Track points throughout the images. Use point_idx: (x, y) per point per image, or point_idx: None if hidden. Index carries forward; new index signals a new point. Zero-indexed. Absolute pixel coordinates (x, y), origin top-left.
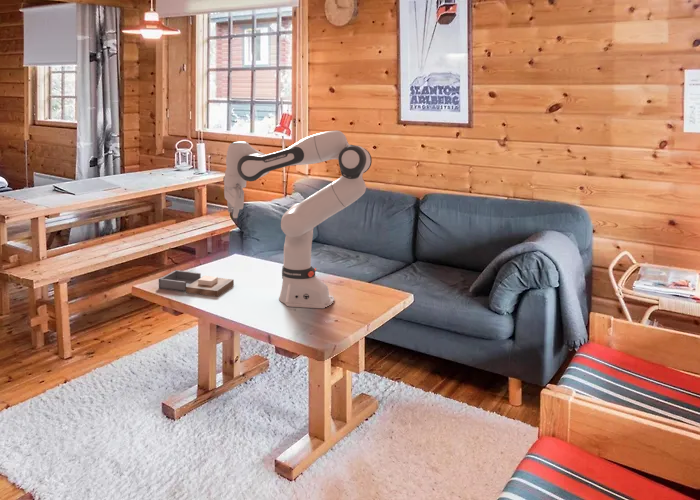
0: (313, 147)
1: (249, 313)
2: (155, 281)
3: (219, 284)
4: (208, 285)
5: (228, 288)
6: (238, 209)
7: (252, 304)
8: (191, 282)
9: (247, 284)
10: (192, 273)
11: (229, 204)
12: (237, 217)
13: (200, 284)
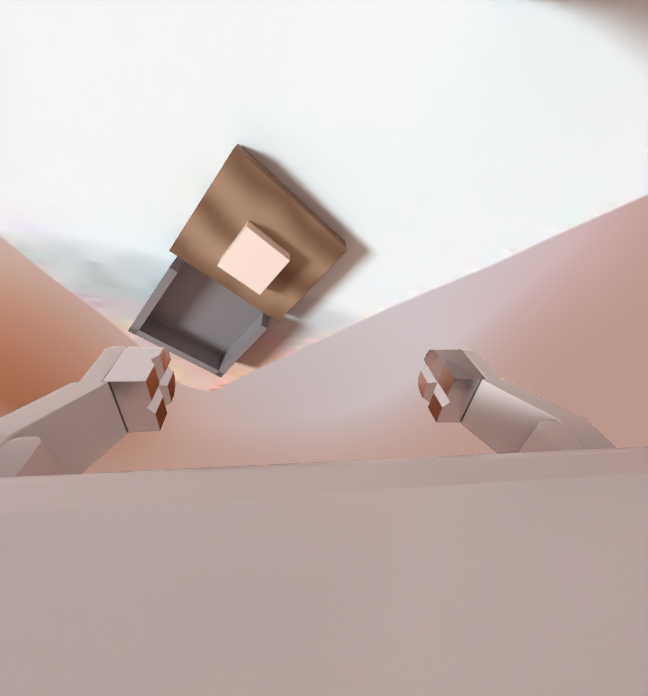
0: None
1: (528, 188)
2: None
3: (283, 223)
4: None
5: (277, 180)
6: (590, 442)
7: (467, 146)
8: (196, 286)
9: (233, 67)
10: (165, 290)
11: (67, 460)
12: (476, 351)
13: None
